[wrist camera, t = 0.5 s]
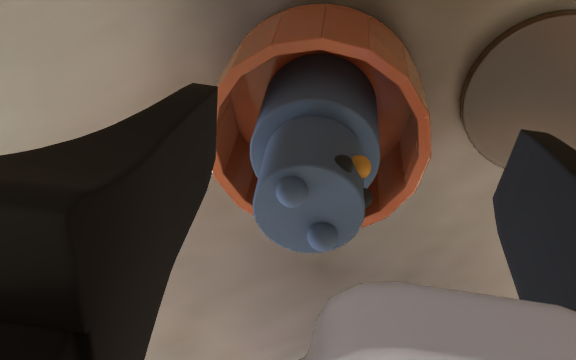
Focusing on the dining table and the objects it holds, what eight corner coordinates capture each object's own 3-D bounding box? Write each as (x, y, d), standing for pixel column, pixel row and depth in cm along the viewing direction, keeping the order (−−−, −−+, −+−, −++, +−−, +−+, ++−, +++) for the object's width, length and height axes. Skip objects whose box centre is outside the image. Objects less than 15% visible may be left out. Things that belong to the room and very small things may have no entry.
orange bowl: (423, 172, 25) (434, 227, 22) (247, 188, 27) (233, 241, 24) (415, -13, 21) (426, 22, 17) (202, 19, 22) (176, 57, 19)
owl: (394, 127, 24) (410, 252, 17) (299, 168, 25) (279, 296, 19) (344, 32, 21) (340, 133, 15) (243, 84, 23) (200, 195, 17)
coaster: (630, 160, 24) (634, 166, 23) (460, 175, 25) (462, 181, 25) (663, -4, 20) (670, 0, 20) (460, 24, 21) (462, 28, 21)
